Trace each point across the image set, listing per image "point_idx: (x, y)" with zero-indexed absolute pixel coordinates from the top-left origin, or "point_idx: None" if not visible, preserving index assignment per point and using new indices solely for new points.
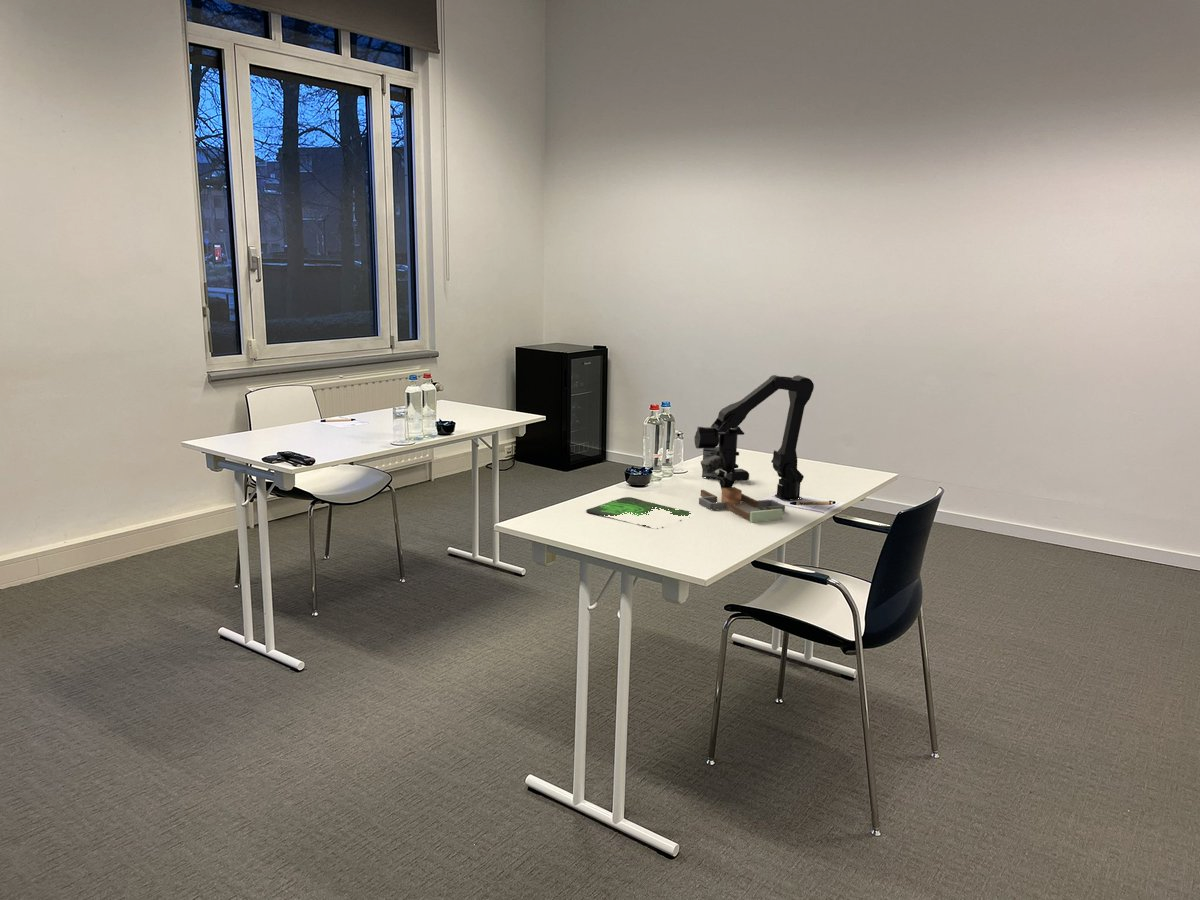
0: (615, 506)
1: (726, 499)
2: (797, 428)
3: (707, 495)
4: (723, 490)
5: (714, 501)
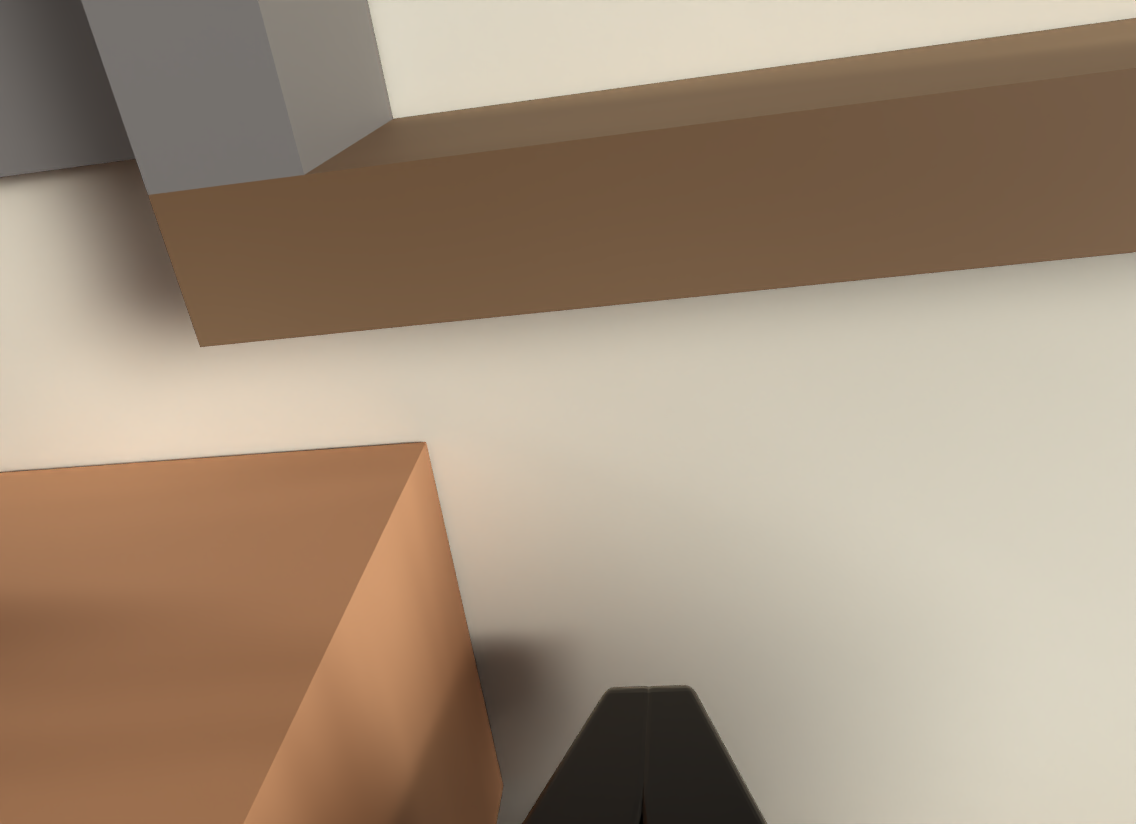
0: None
1: (1, 560)
2: None
3: (895, 77)
4: (85, 796)
5: None
